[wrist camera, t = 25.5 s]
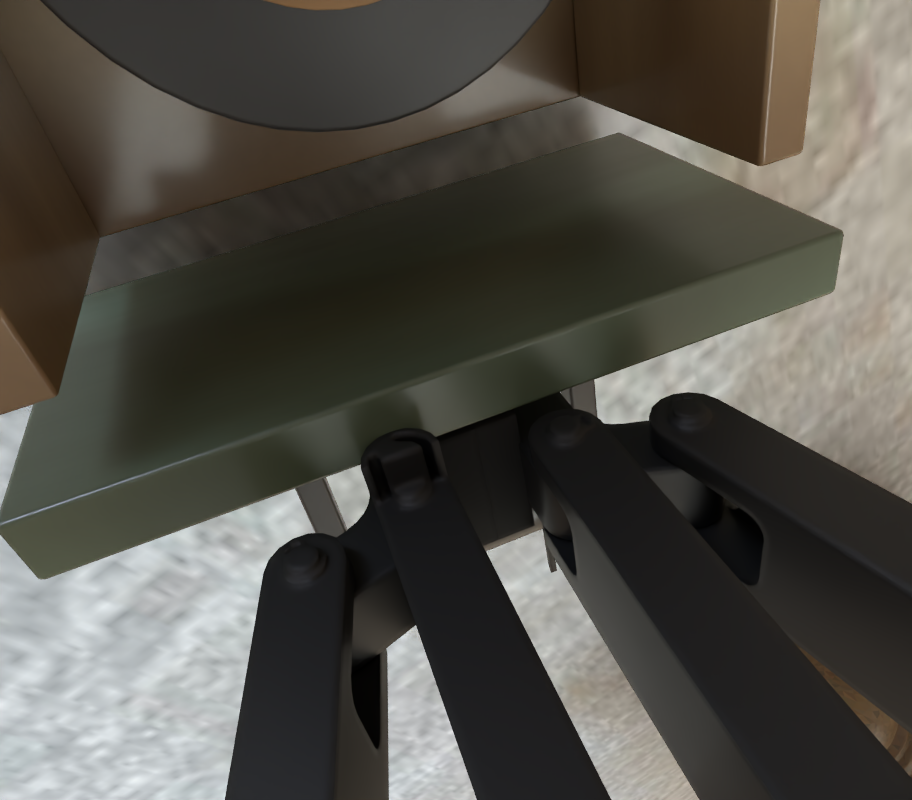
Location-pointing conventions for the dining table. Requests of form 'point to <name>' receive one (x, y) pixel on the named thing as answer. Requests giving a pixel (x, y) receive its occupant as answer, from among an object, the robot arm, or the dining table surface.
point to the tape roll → (304, 53)
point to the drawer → (371, 265)
